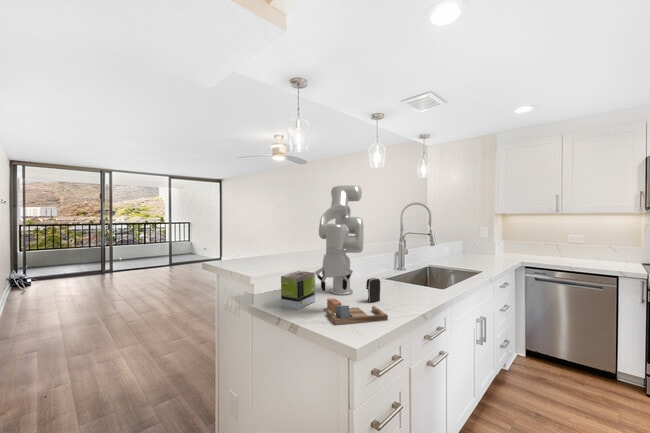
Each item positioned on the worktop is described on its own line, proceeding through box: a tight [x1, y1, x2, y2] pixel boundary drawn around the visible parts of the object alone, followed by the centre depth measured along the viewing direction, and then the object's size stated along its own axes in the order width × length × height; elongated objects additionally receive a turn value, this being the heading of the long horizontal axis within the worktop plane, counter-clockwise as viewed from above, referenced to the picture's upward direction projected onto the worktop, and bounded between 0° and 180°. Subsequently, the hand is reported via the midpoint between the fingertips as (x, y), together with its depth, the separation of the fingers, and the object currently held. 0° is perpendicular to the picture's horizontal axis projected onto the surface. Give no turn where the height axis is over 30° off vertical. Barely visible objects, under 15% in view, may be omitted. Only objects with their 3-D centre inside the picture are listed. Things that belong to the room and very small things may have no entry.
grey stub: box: [335, 304, 350, 318], centre depth 123 cm, size 8×4×4 cm, turn 15°
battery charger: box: [365, 277, 381, 303], centre depth 150 cm, size 7×4×11 cm, turn 125°
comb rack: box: [326, 305, 389, 326], centre depth 126 cm, size 12×22×2 cm, turn 105°
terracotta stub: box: [326, 297, 342, 314], centre depth 135 cm, size 8×4×4 cm, turn 22°
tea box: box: [280, 270, 316, 310], centre depth 144 cm, size 15×10×15 cm
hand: (334, 289), depth 134 cm, fingers open, 9 cm apart
